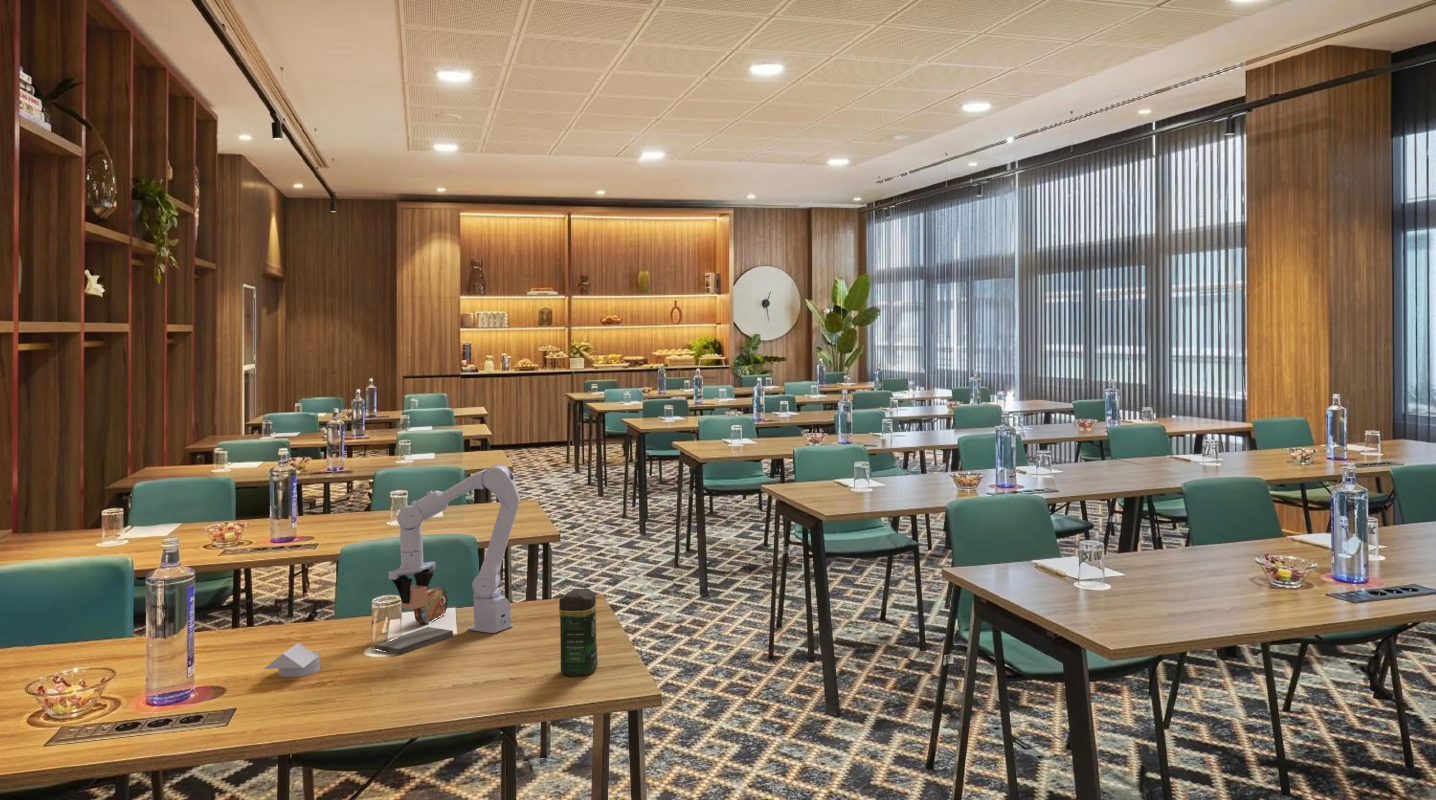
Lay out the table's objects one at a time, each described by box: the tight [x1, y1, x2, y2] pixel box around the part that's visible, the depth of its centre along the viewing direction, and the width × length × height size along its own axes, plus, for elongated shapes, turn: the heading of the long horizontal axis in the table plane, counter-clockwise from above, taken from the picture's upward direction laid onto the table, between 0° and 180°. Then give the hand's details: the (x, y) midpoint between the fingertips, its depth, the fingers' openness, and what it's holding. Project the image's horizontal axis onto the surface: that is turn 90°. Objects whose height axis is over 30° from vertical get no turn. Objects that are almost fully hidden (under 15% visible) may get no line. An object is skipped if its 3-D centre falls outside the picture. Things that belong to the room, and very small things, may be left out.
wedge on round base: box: [263, 642, 321, 678], centre depth 227 cm, size 9×7×13 cm
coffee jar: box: [558, 588, 598, 677], centre depth 223 cm, size 10×8×19 cm
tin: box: [413, 586, 448, 625], centre depth 273 cm, size 15×3×8 cm, turn 168°
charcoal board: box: [373, 626, 454, 656], centre depth 250 cm, size 9×18×2 cm, turn 150°
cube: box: [399, 584, 428, 610], centre depth 260 cm, size 5×5×5 cm
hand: (413, 600), depth 260 cm, fingers closed on cube, 5 cm apart
